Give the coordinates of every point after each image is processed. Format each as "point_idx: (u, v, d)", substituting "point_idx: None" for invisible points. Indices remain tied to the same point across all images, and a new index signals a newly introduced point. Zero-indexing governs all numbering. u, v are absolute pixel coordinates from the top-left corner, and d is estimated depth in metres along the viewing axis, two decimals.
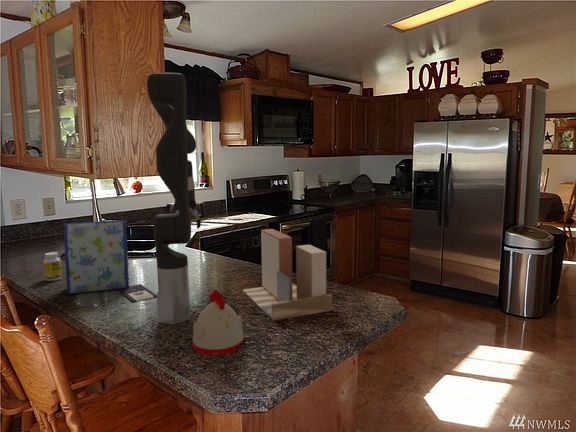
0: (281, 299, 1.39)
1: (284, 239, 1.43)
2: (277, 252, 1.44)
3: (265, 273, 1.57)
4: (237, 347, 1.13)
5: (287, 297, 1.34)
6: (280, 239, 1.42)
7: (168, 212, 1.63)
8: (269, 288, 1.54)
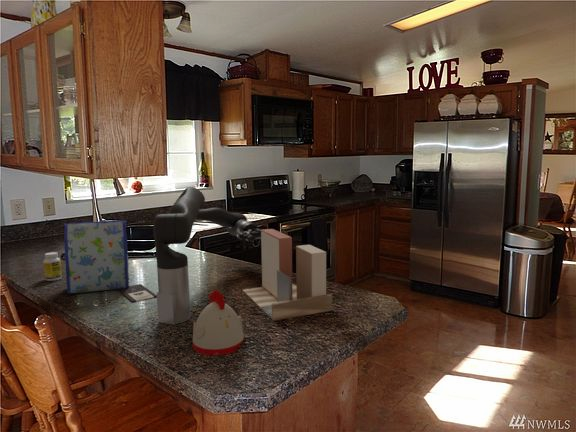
0: (281, 299, 1.39)
1: (284, 239, 1.43)
2: (277, 252, 1.44)
3: (265, 273, 1.57)
4: (237, 347, 1.13)
5: (287, 297, 1.34)
6: (280, 239, 1.42)
7: (240, 233, 1.71)
8: (269, 288, 1.54)
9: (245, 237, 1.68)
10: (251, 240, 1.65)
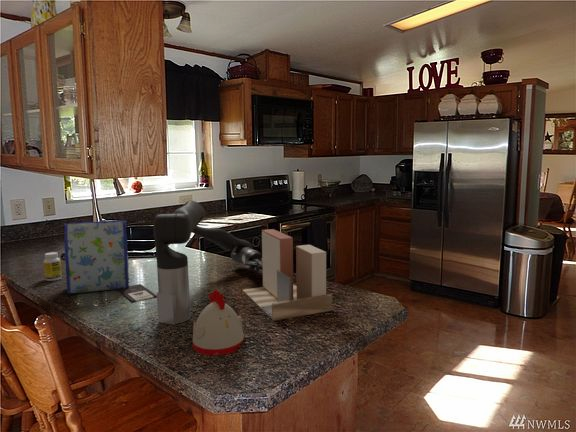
0: (281, 299, 1.39)
1: (285, 239, 1.42)
2: (278, 252, 1.44)
3: (266, 274, 1.57)
4: (237, 347, 1.13)
5: (287, 297, 1.34)
6: (281, 239, 1.42)
7: (252, 263, 1.65)
8: (270, 289, 1.54)
9: (260, 267, 1.64)
10: None
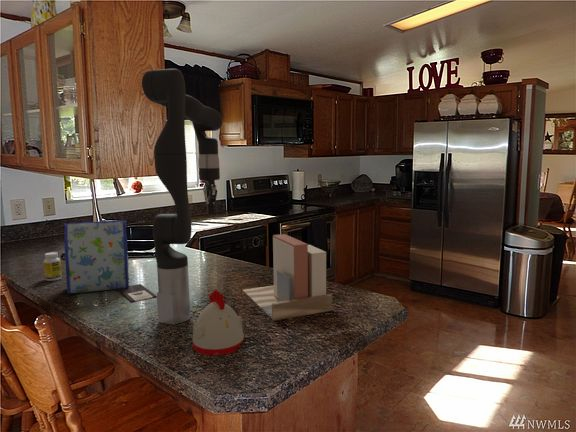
0: (281, 299, 1.39)
1: (299, 246, 1.32)
2: (292, 260, 1.34)
3: None
4: (237, 347, 1.13)
5: (287, 297, 1.34)
6: (295, 246, 1.32)
7: None
8: None
9: (211, 203, 1.57)
10: None
